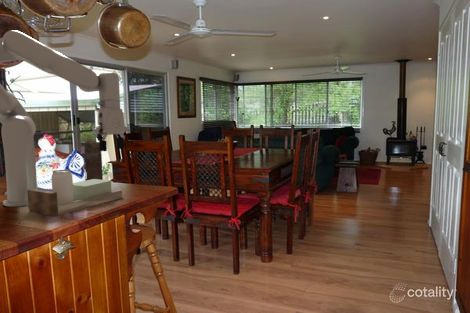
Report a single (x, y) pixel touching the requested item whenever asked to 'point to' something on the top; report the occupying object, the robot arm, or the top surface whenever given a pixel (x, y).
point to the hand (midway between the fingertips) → (112, 149)
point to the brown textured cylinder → (93, 160)
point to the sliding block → (90, 188)
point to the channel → (48, 204)
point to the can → (63, 186)
